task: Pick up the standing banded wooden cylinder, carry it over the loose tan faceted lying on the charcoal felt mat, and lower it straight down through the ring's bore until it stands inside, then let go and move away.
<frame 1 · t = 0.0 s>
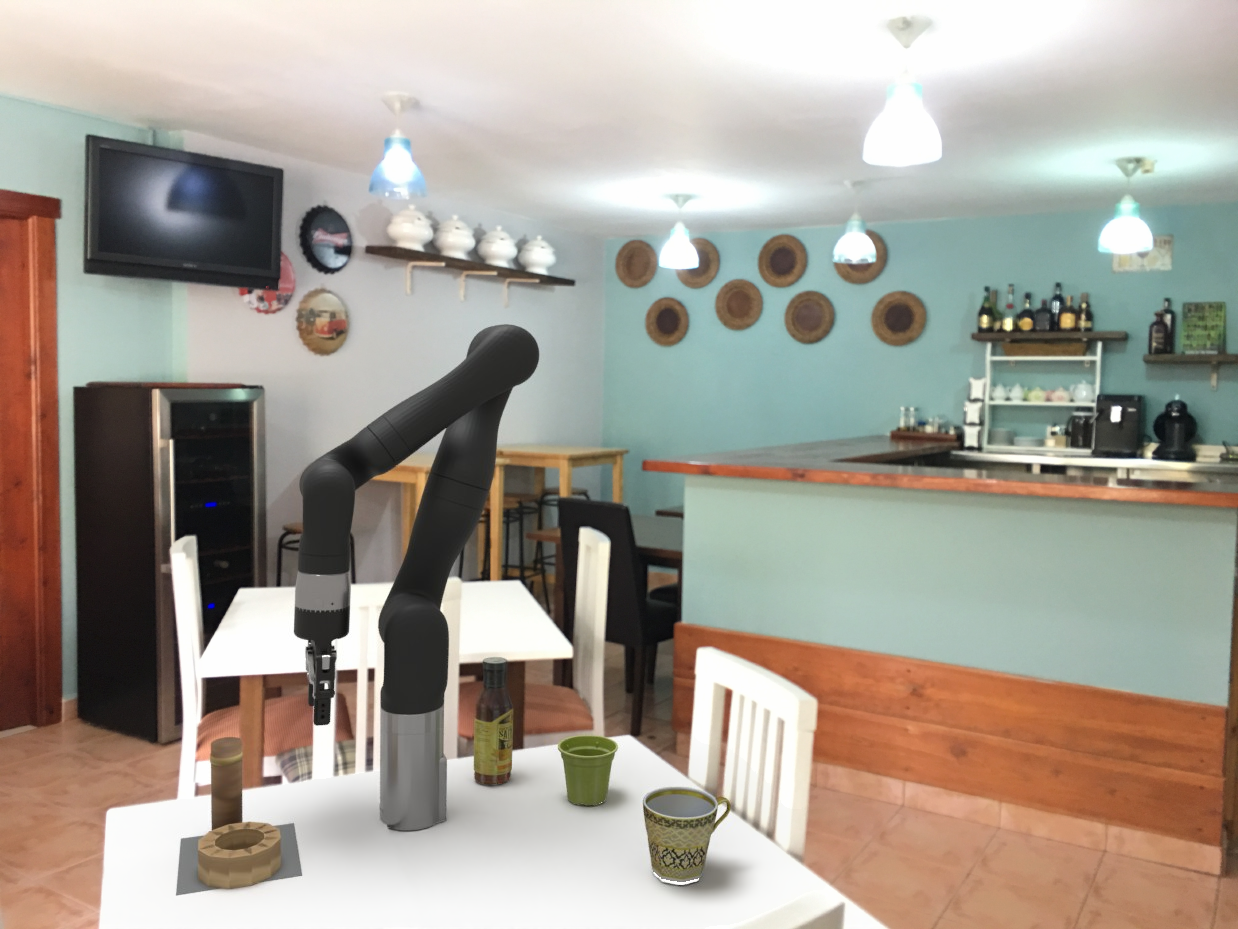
hand: (318, 714, 141), 17 cm above the table, tool pointing down, fingers open, 8 cm apart
mat: (239, 860, 133), on the table
ceramic cup: (687, 873, 133), on the table
sauce bottle: (492, 780, 162), on the table
tan faceted ring: (239, 868, 130), resting on mat
banded wooden cylinder: (227, 840, 138), resting on mat
plant pot: (586, 800, 155), on the table
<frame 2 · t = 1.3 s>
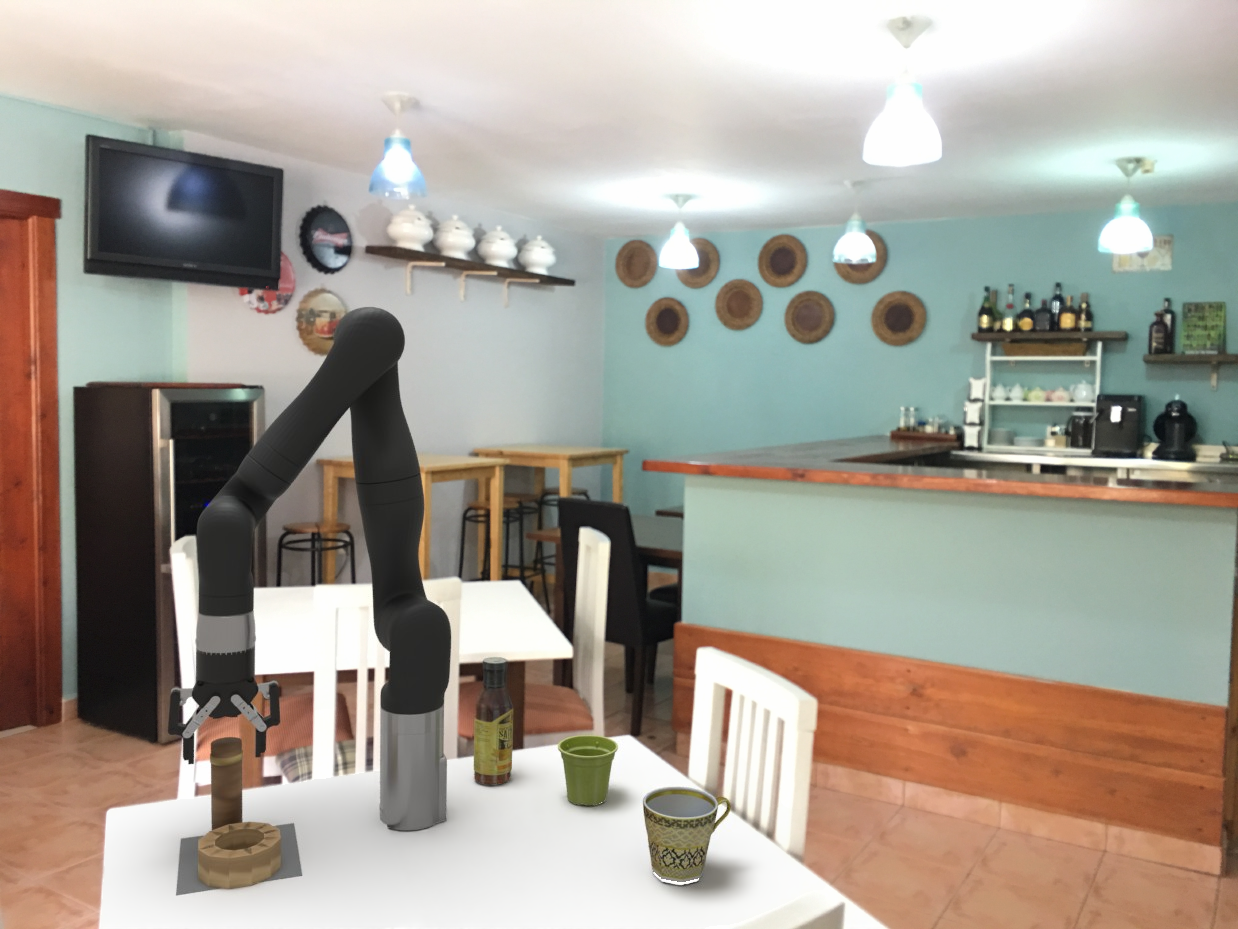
hand: (224, 759, 136), 12 cm above the table, tool pointing down, fingers open, 8 cm apart
nothing on the table moved.
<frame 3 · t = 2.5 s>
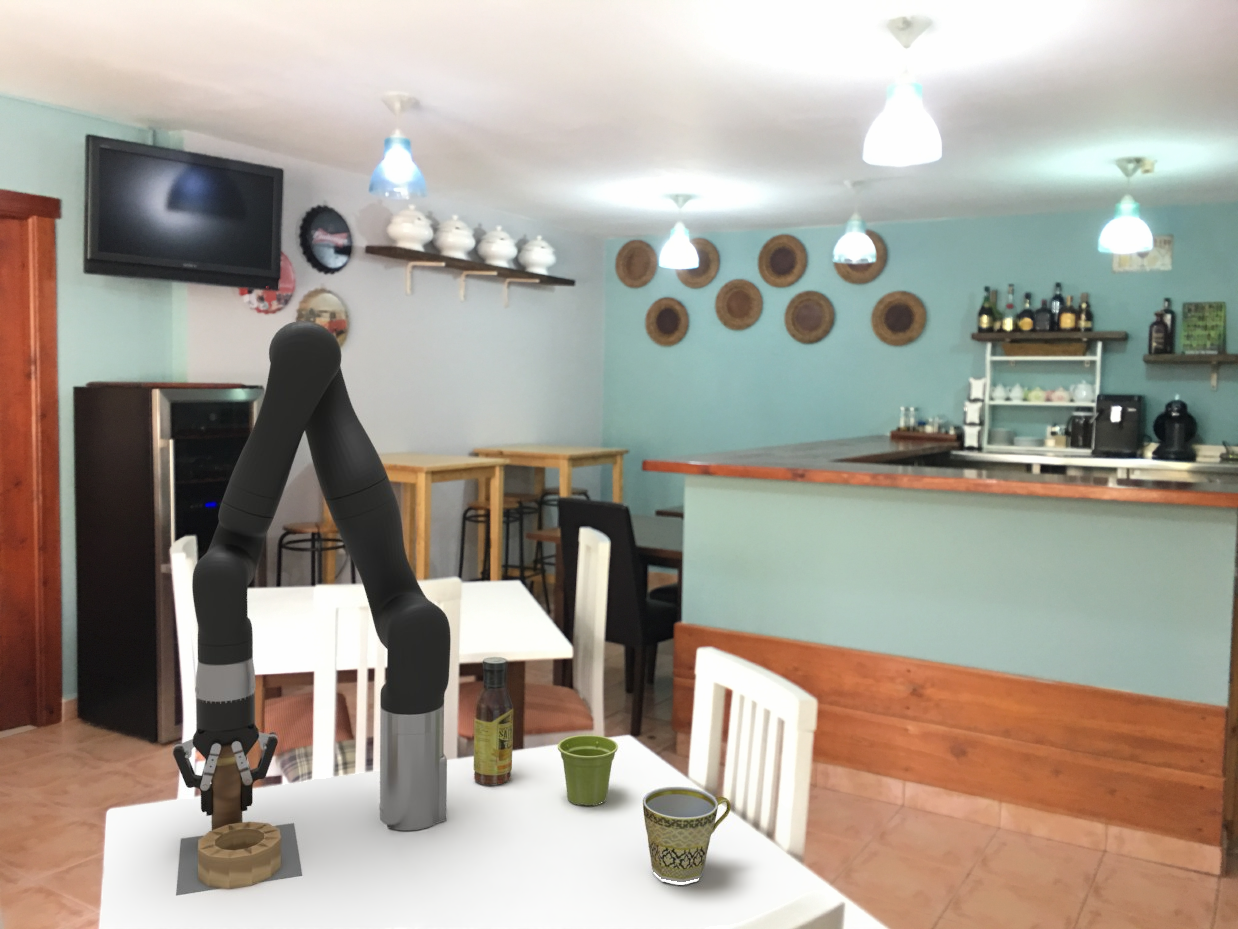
hand: (226, 810, 137), 5 cm above the table, tool pointing down, fingers closed on banded wooden cylinder, 4 cm apart
banded wooden cylinder: (227, 840, 138), resting on mat, touching gripper
everything else where it was.
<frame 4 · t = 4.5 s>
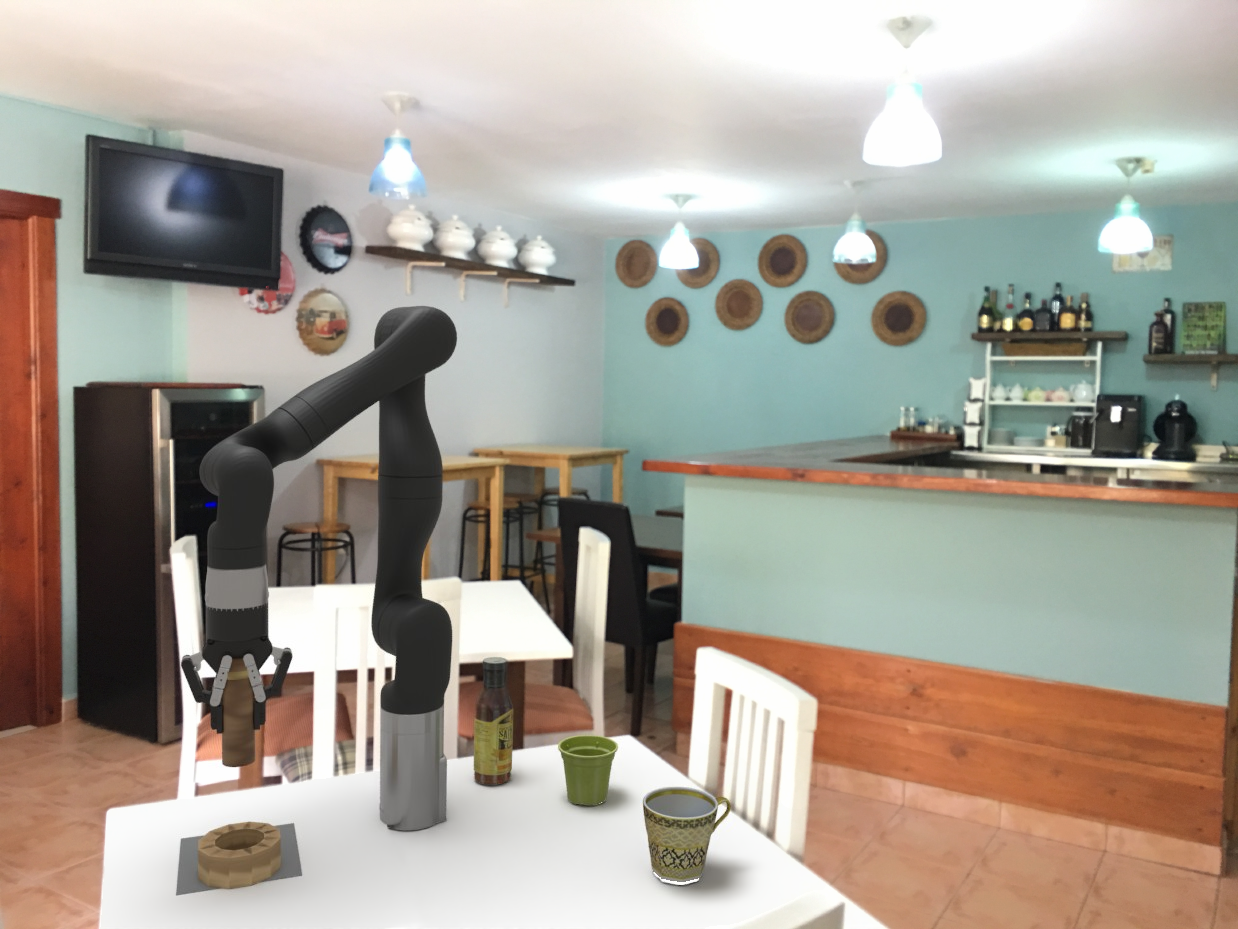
hand: (238, 729, 128), 19 cm above the table, tool pointing down, fingers closed on banded wooden cylinder, 4 cm apart
banded wooden cylinder: (238, 761, 129), point 15 cm above the table, touching gripper
everything else where it was.
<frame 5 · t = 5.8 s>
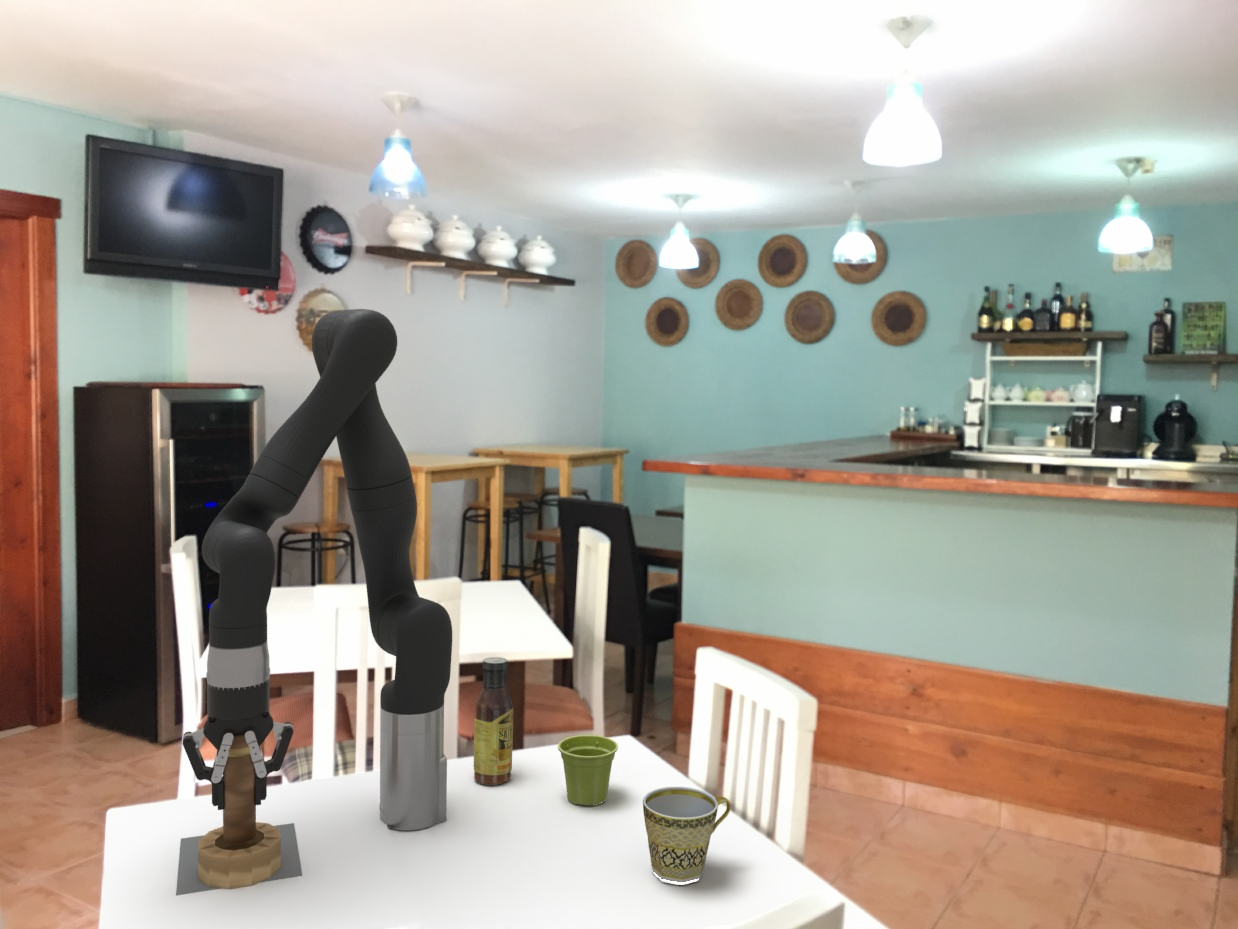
hand: (239, 804, 129), 9 cm above the table, tool pointing down, fingers closed on banded wooden cylinder, 4 cm apart
banded wooden cylinder: (239, 836, 129), point 5 cm above the table, touching gripper
everything else where it was.
when the fingers open (6 cm above the table, at t = 6.8 s): banded wooden cylinder stays where it is, resting on mat.
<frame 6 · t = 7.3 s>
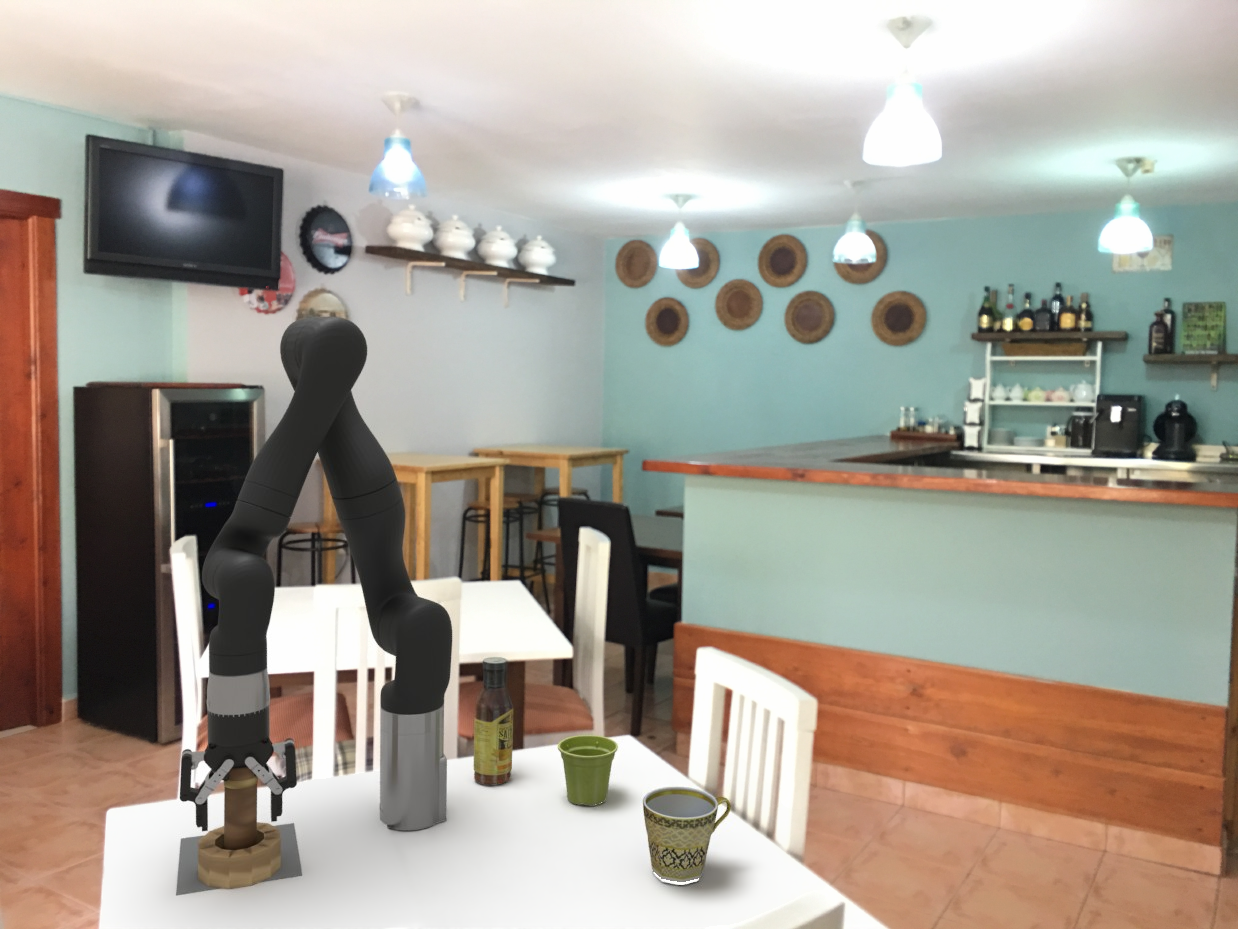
hand: (239, 824, 129), 7 cm above the table, tool pointing down, fingers open, 8 cm apart
banded wooden cylinder: (240, 868, 130), point 1 cm above the table, touching mat
everything else where it was.
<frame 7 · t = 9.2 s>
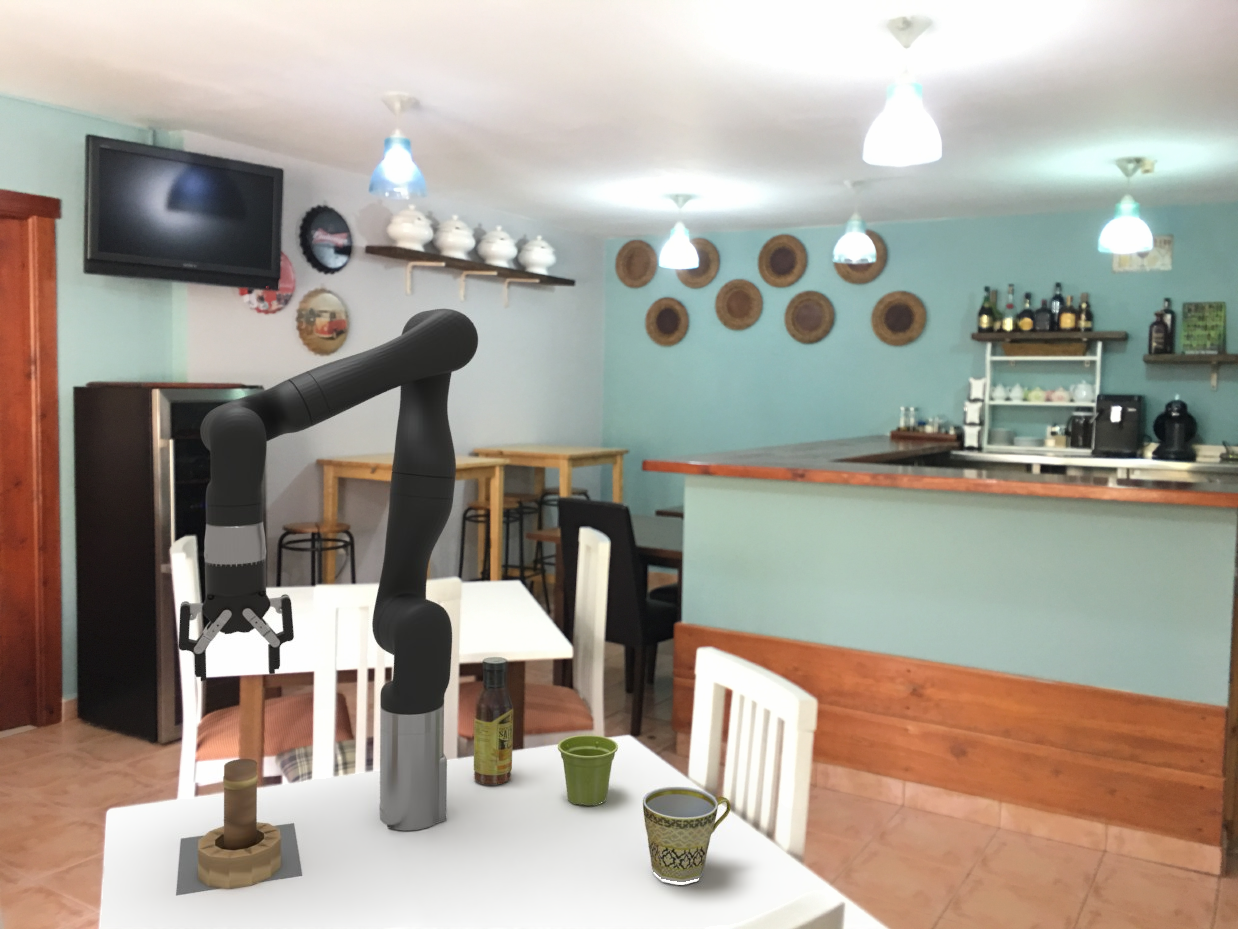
hand: (237, 676, 132), 25 cm above the table, tool pointing down, fingers open, 8 cm apart
nothing on the table moved.
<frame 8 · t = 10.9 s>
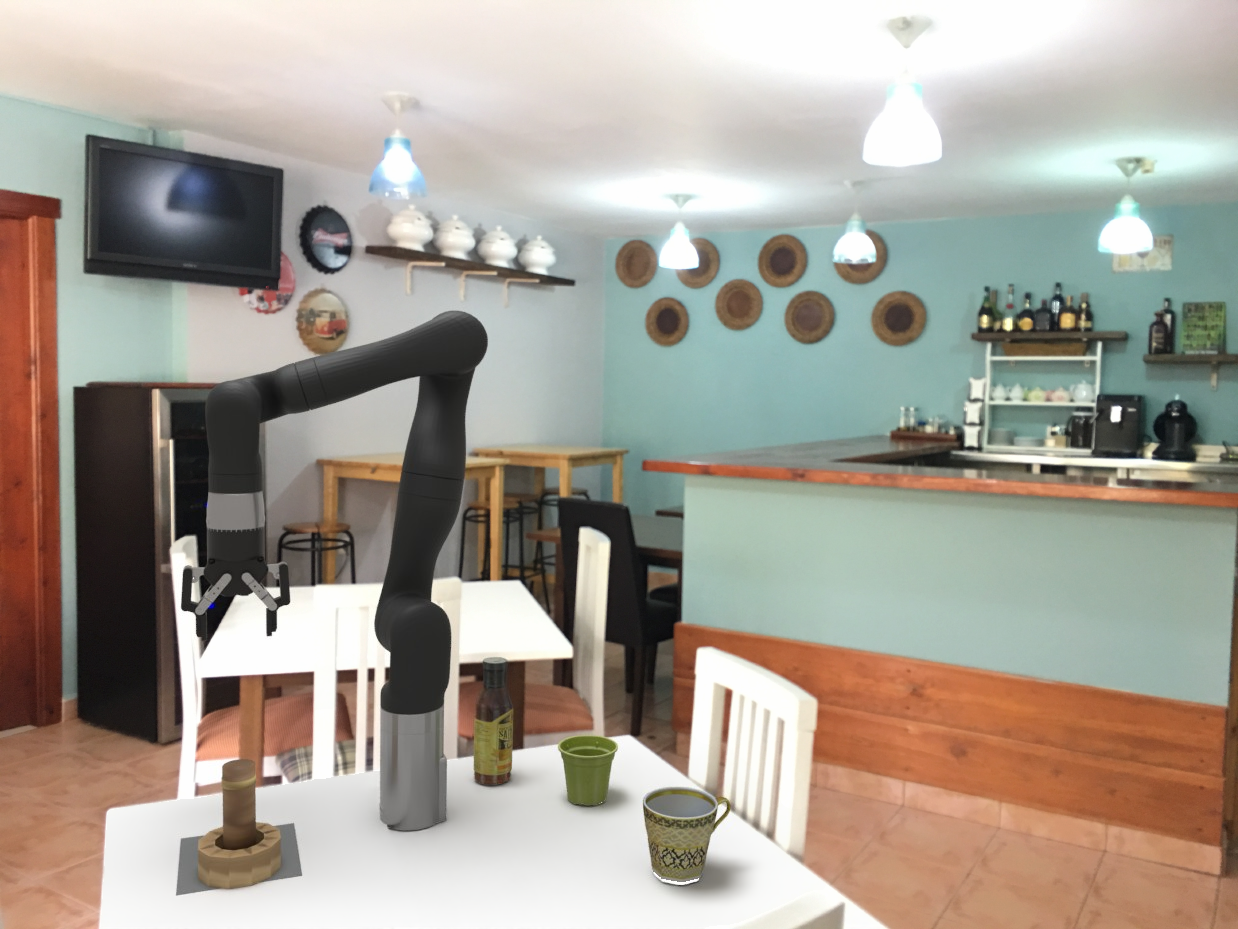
hand: (236, 637, 139), 28 cm above the table, tool pointing down, fingers open, 8 cm apart
nothing on the table moved.
at the end: banded wooden cylinder 0.0 cm from the tan faceted ring (horizontally); banded wooden cylinder point 0.5 cm above the table; banded wooden cylinder tilted 1° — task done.
